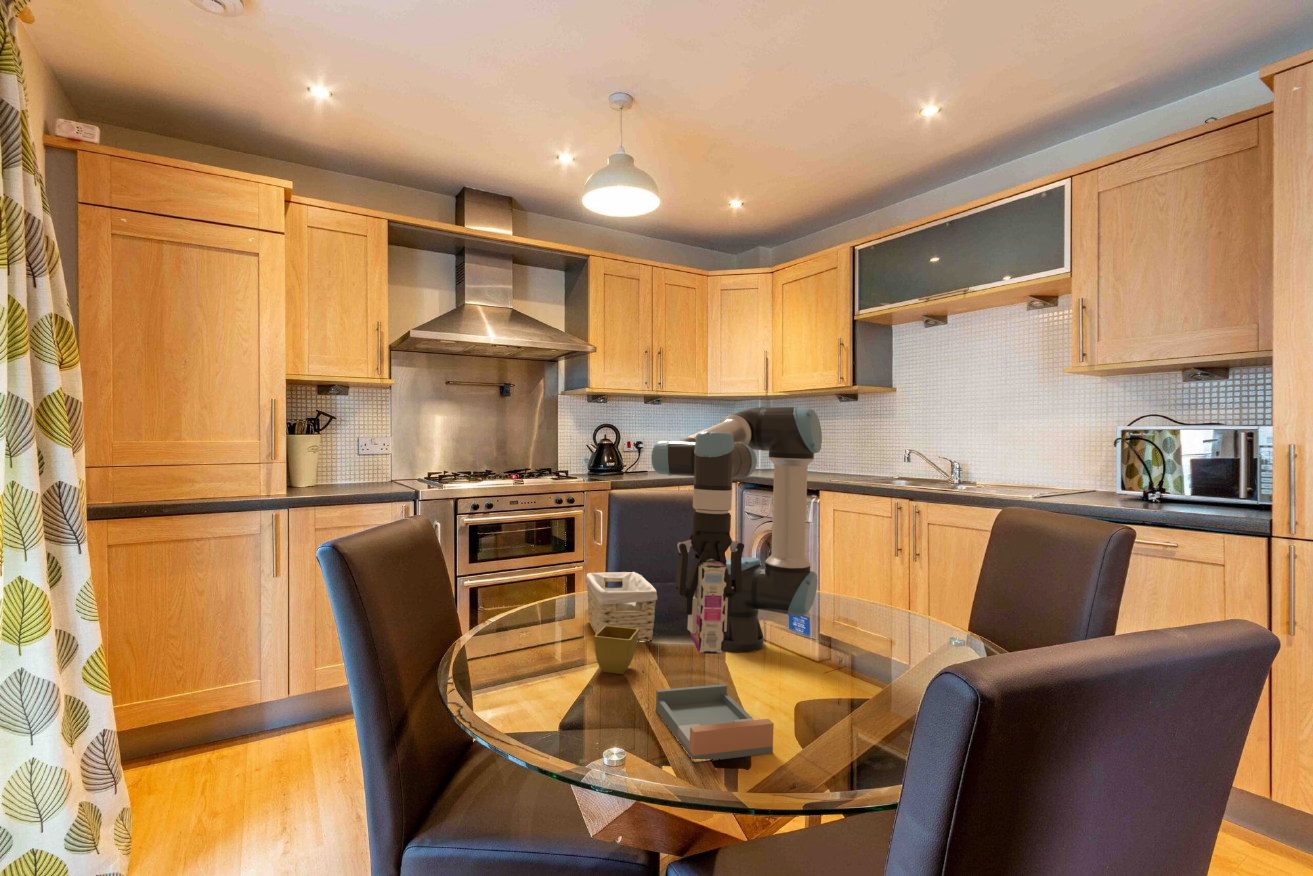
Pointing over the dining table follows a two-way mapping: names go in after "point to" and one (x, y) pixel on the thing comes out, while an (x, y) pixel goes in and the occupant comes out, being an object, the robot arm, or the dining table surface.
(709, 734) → the gray drawer tray
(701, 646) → the candy bar box
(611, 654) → the flower pot
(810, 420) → the robot arm
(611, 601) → the storage basket
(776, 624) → the dining table surface
